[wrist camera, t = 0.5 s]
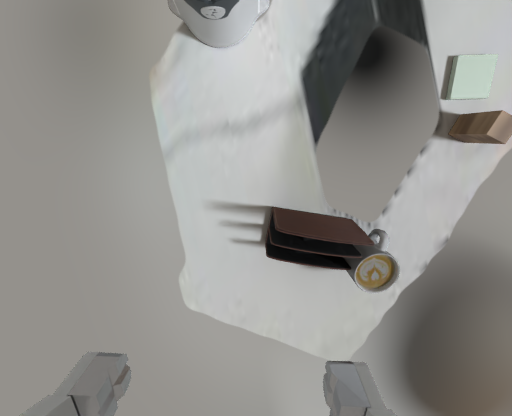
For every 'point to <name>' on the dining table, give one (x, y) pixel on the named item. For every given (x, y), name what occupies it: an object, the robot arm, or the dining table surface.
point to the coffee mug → (374, 265)
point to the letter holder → (313, 239)
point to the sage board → (471, 76)
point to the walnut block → (483, 127)
